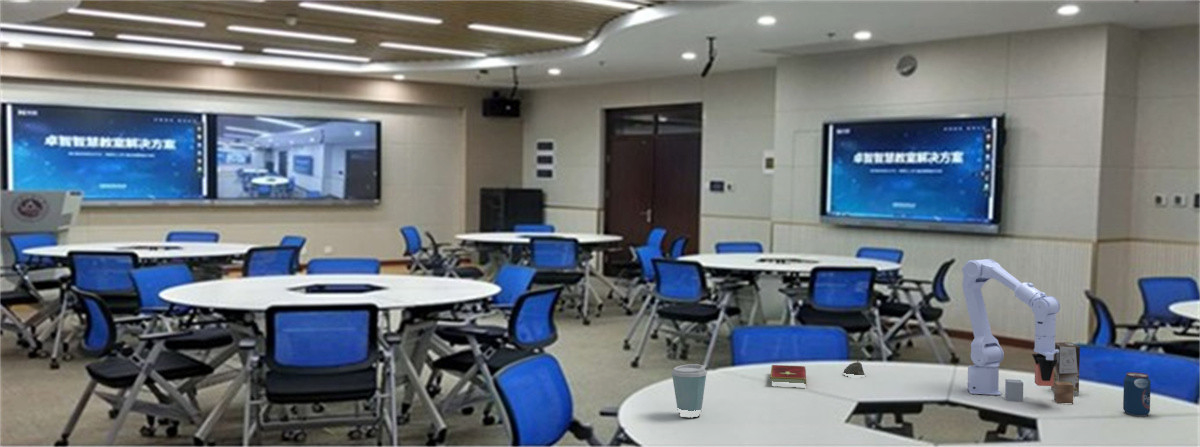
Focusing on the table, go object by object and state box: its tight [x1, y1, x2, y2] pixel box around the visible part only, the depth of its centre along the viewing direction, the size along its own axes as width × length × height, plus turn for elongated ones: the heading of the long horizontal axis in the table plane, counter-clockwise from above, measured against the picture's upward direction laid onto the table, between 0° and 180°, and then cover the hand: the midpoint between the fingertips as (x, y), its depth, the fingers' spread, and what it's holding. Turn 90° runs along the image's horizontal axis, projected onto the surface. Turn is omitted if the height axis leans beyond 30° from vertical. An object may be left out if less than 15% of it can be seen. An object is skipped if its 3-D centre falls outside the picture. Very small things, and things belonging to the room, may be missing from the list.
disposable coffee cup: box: [671, 363, 708, 411], centre depth 273 cm, size 11×11×15 cm
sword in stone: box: [843, 345, 866, 376], centre depth 328 cm, size 10×8×12 cm
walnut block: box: [1053, 381, 1074, 405], centre depth 288 cm, size 4×4×6 cm
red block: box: [1034, 363, 1054, 387], centre depth 284 cm, size 4×4×6 cm
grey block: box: [1004, 378, 1024, 402], centre depth 292 cm, size 4×4×6 cm
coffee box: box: [1050, 341, 1081, 397], centre depth 301 cm, size 9×6×16 cm
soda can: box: [1122, 371, 1151, 417], centre depth 273 cm, size 7×7×12 cm
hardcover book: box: [769, 364, 807, 385], centre depth 319 cm, size 12×21×4 cm, turn 168°
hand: (1044, 378), depth 284 cm, fingers closed on red block, 4 cm apart
